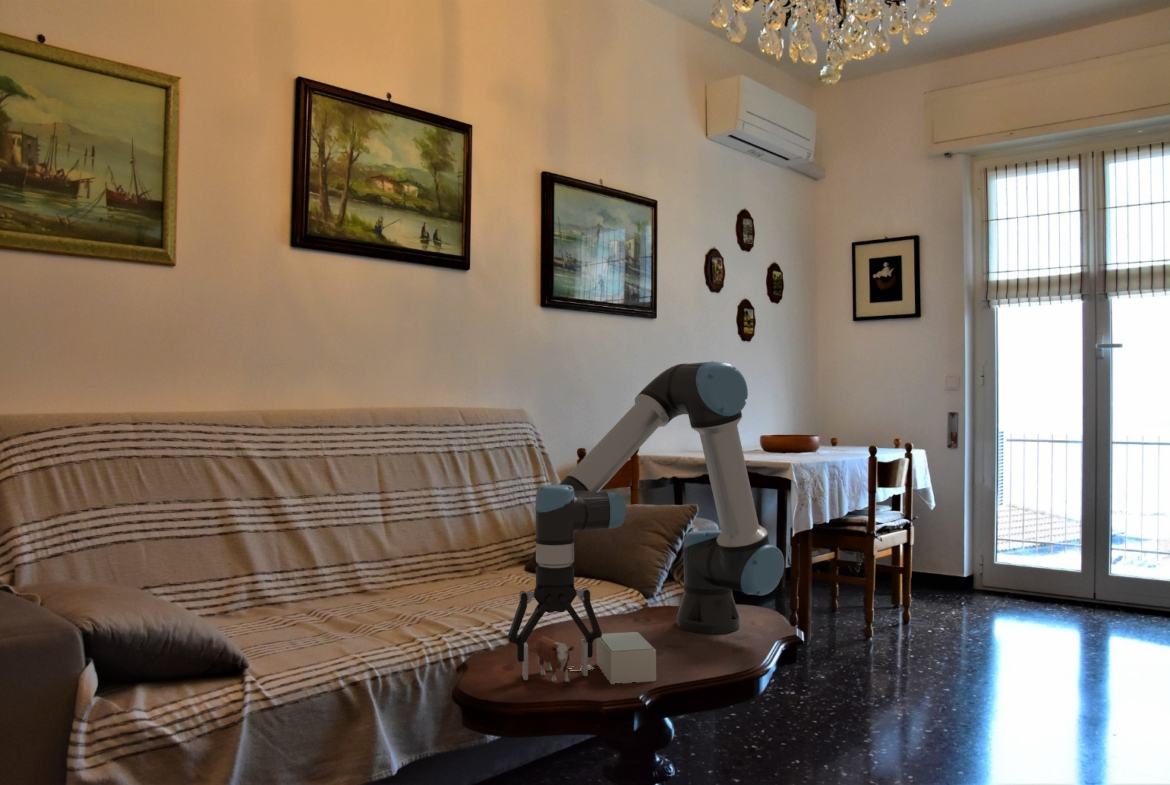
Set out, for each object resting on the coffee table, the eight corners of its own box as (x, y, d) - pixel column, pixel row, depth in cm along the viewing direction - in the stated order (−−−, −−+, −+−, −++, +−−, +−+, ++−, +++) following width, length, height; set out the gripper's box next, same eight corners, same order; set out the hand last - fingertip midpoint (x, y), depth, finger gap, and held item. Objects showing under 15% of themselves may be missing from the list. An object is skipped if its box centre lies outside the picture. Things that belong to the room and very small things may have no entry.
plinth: (638, 661, 183) (638, 631, 183) (656, 681, 170) (655, 648, 170) (596, 664, 181) (596, 633, 181) (611, 684, 168) (610, 651, 168)
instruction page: (590, 665, 180) (590, 664, 180) (595, 669, 177) (595, 668, 177) (567, 668, 179) (567, 667, 179) (571, 672, 176) (571, 671, 176)
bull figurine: (557, 690, 165) (557, 647, 165) (532, 670, 177) (532, 630, 177) (578, 687, 167) (578, 644, 167) (552, 668, 179) (552, 628, 179)
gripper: (608, 558, 178) (608, 666, 178) (493, 562, 173) (493, 673, 173) (617, 565, 171) (617, 677, 171) (497, 570, 166) (497, 685, 166)
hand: (555, 675), depth 172 cm, fingers open, 11 cm apart
